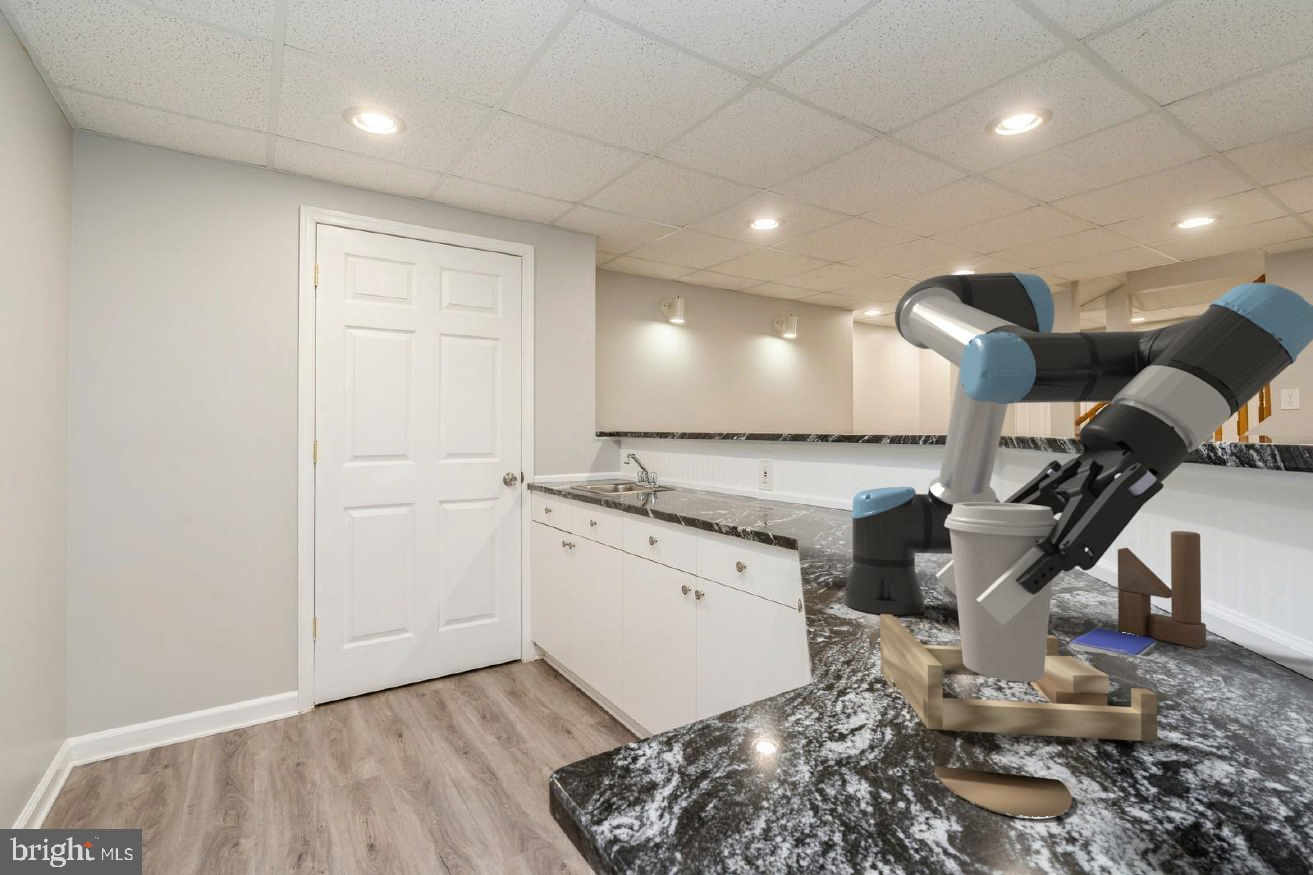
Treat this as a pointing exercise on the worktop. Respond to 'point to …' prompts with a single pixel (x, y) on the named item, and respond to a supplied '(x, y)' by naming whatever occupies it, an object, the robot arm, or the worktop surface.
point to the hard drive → (1113, 642)
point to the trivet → (1008, 791)
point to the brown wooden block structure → (1163, 594)
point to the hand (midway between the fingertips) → (966, 598)
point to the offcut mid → (1069, 694)
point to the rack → (923, 689)
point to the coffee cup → (980, 558)
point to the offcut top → (1075, 675)
